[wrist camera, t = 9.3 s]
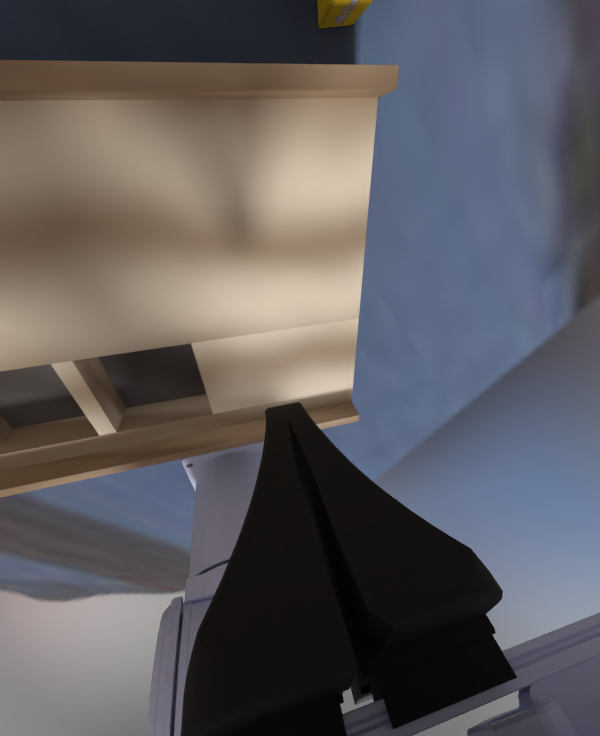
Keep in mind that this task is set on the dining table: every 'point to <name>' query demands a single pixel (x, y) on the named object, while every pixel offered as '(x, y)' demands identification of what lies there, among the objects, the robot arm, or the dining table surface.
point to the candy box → (340, 12)
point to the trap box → (176, 256)
